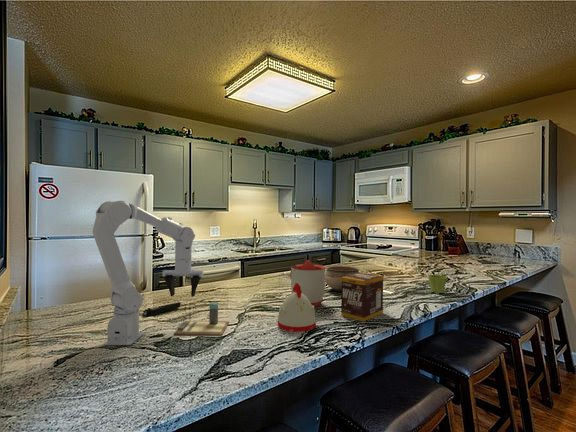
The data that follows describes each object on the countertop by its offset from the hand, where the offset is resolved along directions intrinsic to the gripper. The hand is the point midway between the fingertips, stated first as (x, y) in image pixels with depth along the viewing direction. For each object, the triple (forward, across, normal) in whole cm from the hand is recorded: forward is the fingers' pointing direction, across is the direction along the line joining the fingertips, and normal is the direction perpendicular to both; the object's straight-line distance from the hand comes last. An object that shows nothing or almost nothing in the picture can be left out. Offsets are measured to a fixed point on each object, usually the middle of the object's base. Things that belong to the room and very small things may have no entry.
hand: (182, 295), depth 114 cm
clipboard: (+10, -9, +6) cm, 15 cm away
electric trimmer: (+10, +13, -12) cm, 20 cm away
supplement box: (+10, -69, -12) cm, 71 cm away
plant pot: (+10, -116, -49) cm, 127 cm away
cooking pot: (+10, -67, -51) cm, 85 cm away
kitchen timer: (+10, -42, 0) cm, 43 cm away
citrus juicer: (+10, -47, -26) cm, 54 cm away
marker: (+9, -12, +3) cm, 15 cm away
